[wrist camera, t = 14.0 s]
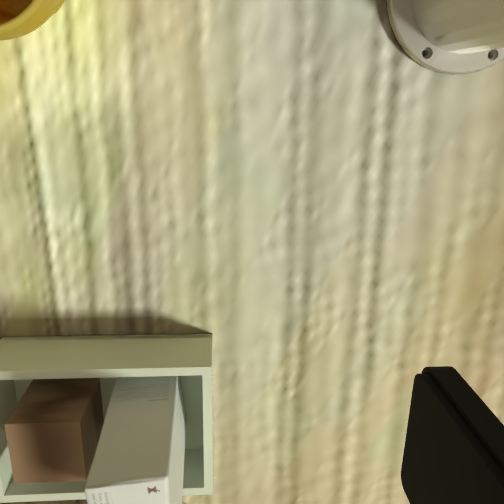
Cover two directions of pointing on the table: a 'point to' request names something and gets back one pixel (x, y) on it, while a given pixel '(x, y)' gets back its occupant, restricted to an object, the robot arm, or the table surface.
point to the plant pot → (24, 16)
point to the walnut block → (55, 430)
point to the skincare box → (140, 444)
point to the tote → (107, 369)
